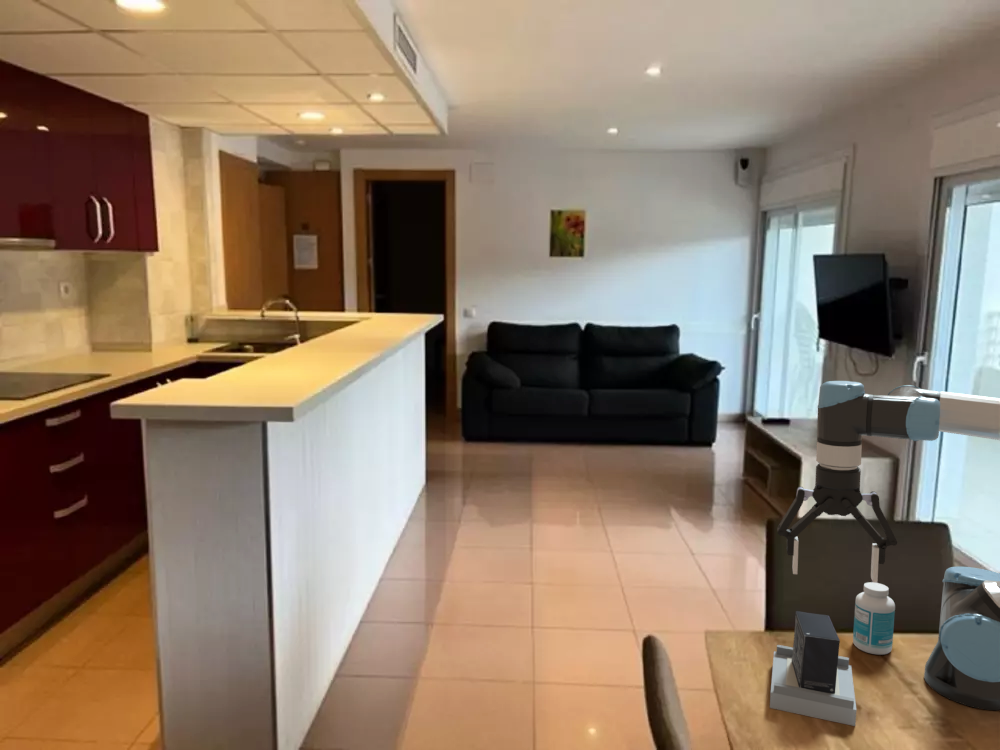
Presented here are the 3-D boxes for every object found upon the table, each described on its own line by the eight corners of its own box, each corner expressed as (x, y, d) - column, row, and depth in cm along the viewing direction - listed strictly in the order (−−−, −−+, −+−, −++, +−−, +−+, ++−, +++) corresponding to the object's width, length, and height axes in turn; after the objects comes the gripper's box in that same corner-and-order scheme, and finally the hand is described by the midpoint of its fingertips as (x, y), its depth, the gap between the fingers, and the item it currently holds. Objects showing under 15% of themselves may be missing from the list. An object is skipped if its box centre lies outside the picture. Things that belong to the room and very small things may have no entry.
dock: (849, 680, 142) (851, 658, 142) (855, 726, 128) (857, 702, 127) (773, 665, 148) (774, 644, 147) (769, 707, 133) (771, 684, 132)
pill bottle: (893, 645, 156) (898, 584, 154) (890, 660, 150) (895, 597, 148) (854, 635, 160) (859, 576, 158) (849, 649, 154) (854, 588, 152)
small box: (837, 695, 131) (842, 640, 130) (799, 690, 133) (802, 635, 131) (826, 665, 142) (830, 613, 140) (790, 661, 143) (793, 610, 142)
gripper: (910, 464, 135) (904, 575, 137) (766, 456, 143) (763, 561, 145) (919, 474, 128) (912, 591, 130) (766, 465, 136) (763, 575, 138)
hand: (833, 575), depth 138 cm, fingers open, 13 cm apart
